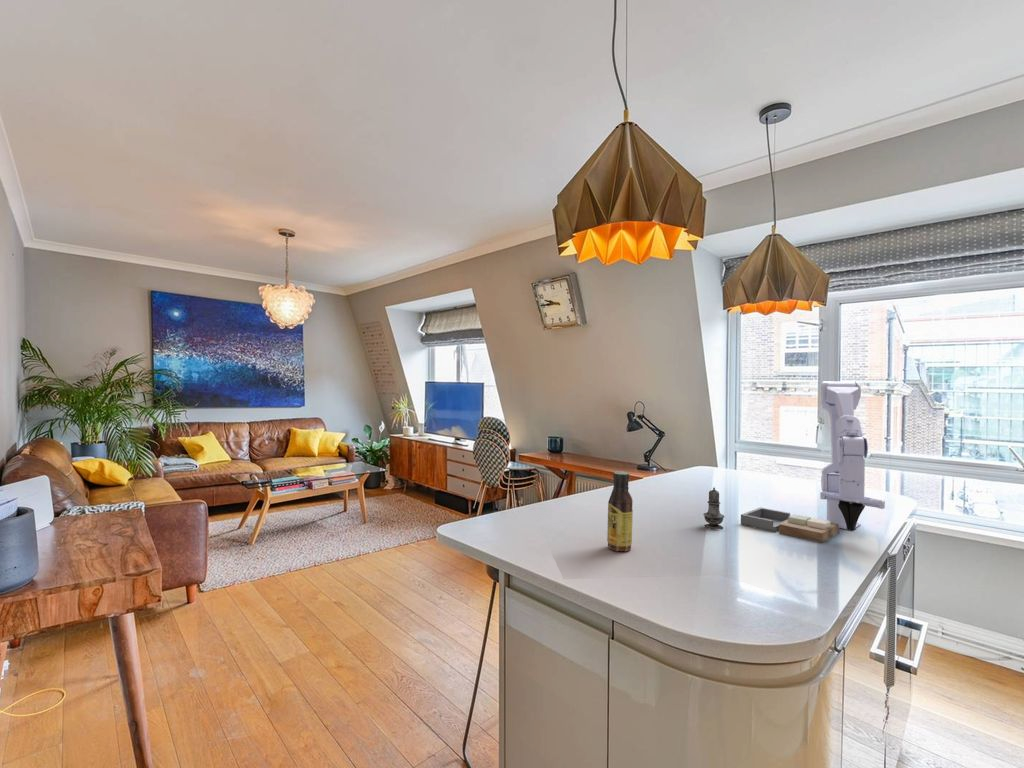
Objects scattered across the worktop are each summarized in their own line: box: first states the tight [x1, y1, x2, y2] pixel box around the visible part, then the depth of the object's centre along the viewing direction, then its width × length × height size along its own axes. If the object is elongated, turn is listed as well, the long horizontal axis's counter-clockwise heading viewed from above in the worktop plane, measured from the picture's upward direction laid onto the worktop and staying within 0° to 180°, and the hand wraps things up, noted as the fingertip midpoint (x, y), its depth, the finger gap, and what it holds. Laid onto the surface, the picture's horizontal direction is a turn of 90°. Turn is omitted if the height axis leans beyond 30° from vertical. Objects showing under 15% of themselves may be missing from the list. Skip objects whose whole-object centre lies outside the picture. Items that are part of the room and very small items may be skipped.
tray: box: [740, 507, 791, 533], centre depth 151 cm, size 14×10×3 cm
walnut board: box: [778, 521, 840, 543], centre depth 142 cm, size 14×11×2 cm
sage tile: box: [788, 513, 812, 525], centre depth 144 cm, size 4×4×2 cm
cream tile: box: [807, 517, 830, 529], centre depth 140 cm, size 4×4×2 cm
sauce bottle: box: [606, 470, 634, 553], centre depth 127 cm, size 6×6×20 cm
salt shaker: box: [702, 487, 725, 530], centre depth 147 cm, size 6×6×12 cm
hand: (851, 530), depth 135 cm, fingers closed
